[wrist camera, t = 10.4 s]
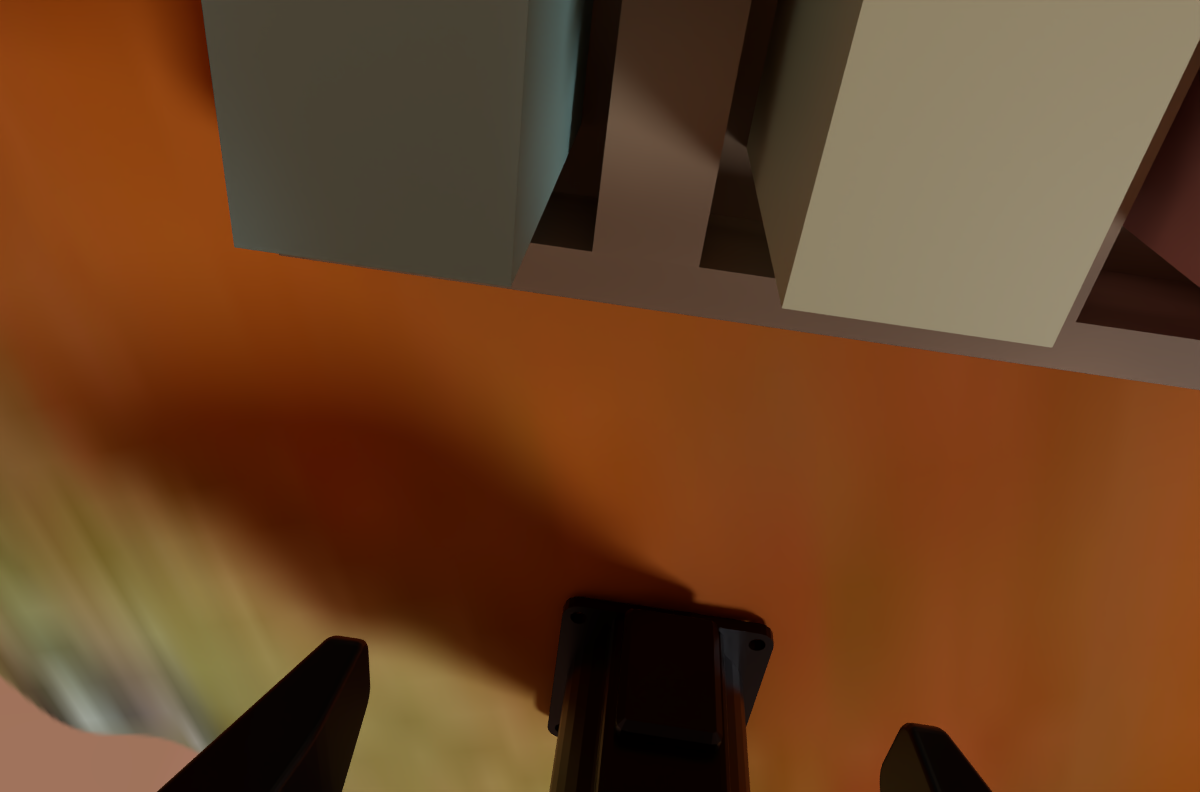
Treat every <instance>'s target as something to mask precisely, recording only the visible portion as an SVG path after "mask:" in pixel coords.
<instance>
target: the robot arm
mask: <svg viewBox="0 0 1200 792" xmlns="http://www.w3.org/2000/svg"><path fill="white" fill-rule="evenodd" d="M575 612H581V613H584V614H578V613H575ZM754 639H760V640H754ZM773 644H774V643H773V634H772V631H771V629H770V628H768V627H767V626H766V625H762V624H758V623H752V622H745V621H738V620H732V619H725V618H719V617H712V616H705V615H699V614H692V613H685V612H679V611H672V610H666V609H659V608H652V607H646V606H639V605H633V604H626V603H619V602H613V601H606V600H599V599H593V598H586V597H573V598H570V599H569V600H567V601H566V603H565V605H564V609H563V615H562V623H561V630H560V638H559V645H558V653H557V660H556V668H555V675H554V683H553V691H552V698H551V706H550V713H549V721H548V730H549V731H550V733H551V734H553V735H555V736H557V737H558V738H557V745H556V751H555V758H554V765H553V771H552V778H551V784H550V791H549V792H750V782H749V767H748V753H747V738H746V725H747V723H748V720H749V717H750V714H751V711H752V708H753V705H754V702H755V699H756V696H757V693H758V691H759V688H760V685H761V682H762V679H763V676H764V673H765V670H766V667H767V664H768V662H769V659H770V656H771V653H772V650H773ZM369 694H370V673H369V654H368V646H367V643H366V642H365V641H364V640H362V639H357V638H350V637H343V636H332V637H329V638H327V639H326V640H325V641H324V642H323V643H321V644H320V645H319V646H318V647H317V648H316V649H315V650H314V651H313V652H311V653H310V654H309V655H308V656H307V657H306V658H305V659H304V660H303V661H301V662H300V663H299V664H298V665H297V666H296V667H295V668H294V669H293V670H291V671H290V672H289V673H288V674H287V675H286V676H285V677H284V678H283V679H282V680H280V681H279V682H278V683H277V684H276V685H275V686H274V687H273V688H272V689H270V690H269V691H268V692H267V693H266V694H265V695H264V696H263V697H262V698H260V699H259V700H258V701H257V702H256V703H255V704H254V705H253V706H252V707H250V708H249V709H248V710H247V711H246V712H245V713H244V714H243V715H242V716H240V717H239V718H238V719H237V720H236V721H235V722H234V723H233V724H232V725H231V726H229V727H228V728H227V729H226V730H225V731H224V732H223V733H222V734H221V735H219V736H218V737H217V738H216V739H215V740H214V741H213V742H212V743H211V744H209V745H208V746H207V747H206V748H205V749H204V750H203V751H202V752H201V753H199V754H198V755H197V756H196V757H195V758H194V759H193V760H192V761H191V762H189V763H188V764H187V765H186V766H185V767H184V768H183V769H182V770H181V771H180V772H178V773H177V774H176V775H175V776H174V777H173V778H172V779H171V780H170V781H168V782H167V783H166V784H165V785H164V786H163V787H162V788H161V789H160V790H159V791H157V792H342V789H343V786H344V783H345V779H346V776H347V772H348V769H349V766H350V762H351V759H352V755H353V752H354V749H355V745H356V742H357V738H358V735H359V732H360V728H361V725H362V721H363V718H364V715H365V711H366V708H367V704H368V699H369ZM880 792H992V791H991V789H990V788H989V787H988V786H987V784H986V783H985V782H984V780H983V779H982V778H981V777H980V775H979V774H978V773H977V771H976V770H975V769H974V768H973V766H972V765H971V764H970V762H969V761H968V760H967V758H966V757H965V756H964V755H963V753H962V752H961V751H960V749H959V748H958V747H957V746H956V744H955V743H954V742H953V740H952V739H951V738H950V737H949V735H948V734H947V733H946V732H945V731H943V730H942V729H940V728H938V727H935V726H929V725H922V724H916V723H906V724H905V725H903V726H902V727H901V728H900V730H899V732H898V734H897V736H896V738H895V740H894V742H893V744H892V746H891V748H890V750H889V752H888V754H887V756H886V758H885V760H884V762H883V764H882V768H881V772H880Z"/></svg>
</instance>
